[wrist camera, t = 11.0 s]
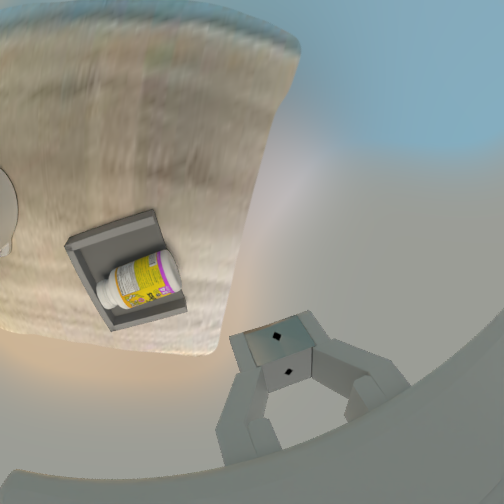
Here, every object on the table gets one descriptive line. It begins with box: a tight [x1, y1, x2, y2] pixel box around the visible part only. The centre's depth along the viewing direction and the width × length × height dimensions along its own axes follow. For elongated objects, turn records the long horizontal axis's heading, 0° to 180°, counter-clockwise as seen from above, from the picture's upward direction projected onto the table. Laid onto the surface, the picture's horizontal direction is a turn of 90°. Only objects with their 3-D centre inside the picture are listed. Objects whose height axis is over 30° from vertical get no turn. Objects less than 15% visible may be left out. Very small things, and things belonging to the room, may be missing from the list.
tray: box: [64, 209, 187, 332], centre depth 41 cm, size 15×18×3 cm
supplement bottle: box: [96, 250, 182, 309], centre depth 39 cm, size 7×7×13 cm
